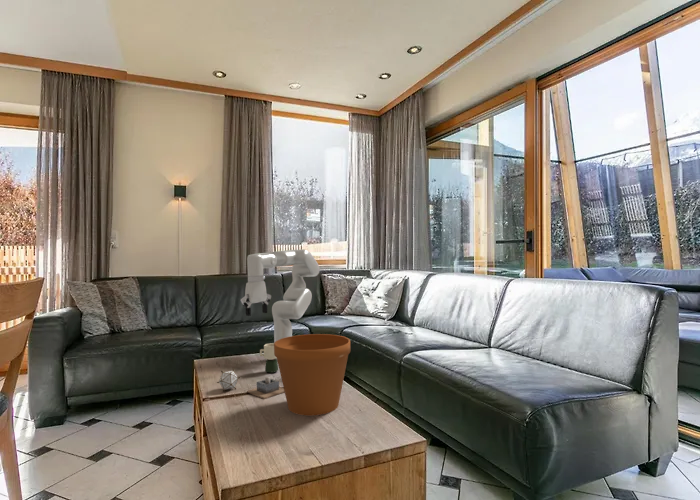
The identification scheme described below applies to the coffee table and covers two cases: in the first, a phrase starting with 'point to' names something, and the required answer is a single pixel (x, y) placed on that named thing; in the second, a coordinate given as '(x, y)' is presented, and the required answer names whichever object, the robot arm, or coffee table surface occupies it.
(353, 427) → the coffee table surface
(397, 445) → the coffee table surface
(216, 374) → the coffee table surface
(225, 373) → the game die
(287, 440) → the coffee table surface
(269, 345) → the character mug
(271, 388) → the link
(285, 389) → the flowerpot
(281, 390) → the tan piece
